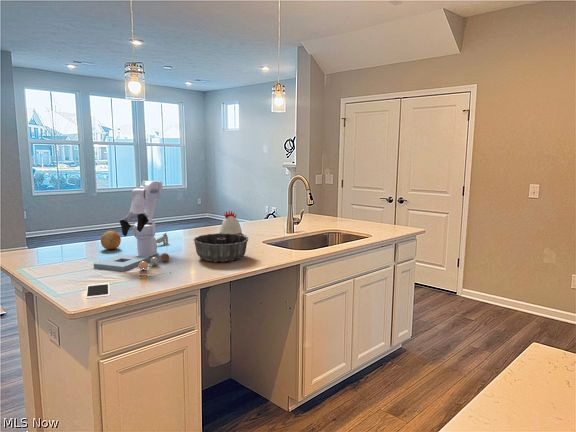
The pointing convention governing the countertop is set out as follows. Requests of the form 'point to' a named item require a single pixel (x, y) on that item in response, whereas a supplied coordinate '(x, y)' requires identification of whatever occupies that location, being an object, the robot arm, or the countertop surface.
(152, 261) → the steel ball
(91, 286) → the cell phone
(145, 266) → the terracotta ball
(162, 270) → the countertop surface
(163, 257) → the walnut ball
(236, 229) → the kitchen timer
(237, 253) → the bundt pan
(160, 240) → the caliper
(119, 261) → the hole plate
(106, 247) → the onion
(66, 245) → the countertop surface
